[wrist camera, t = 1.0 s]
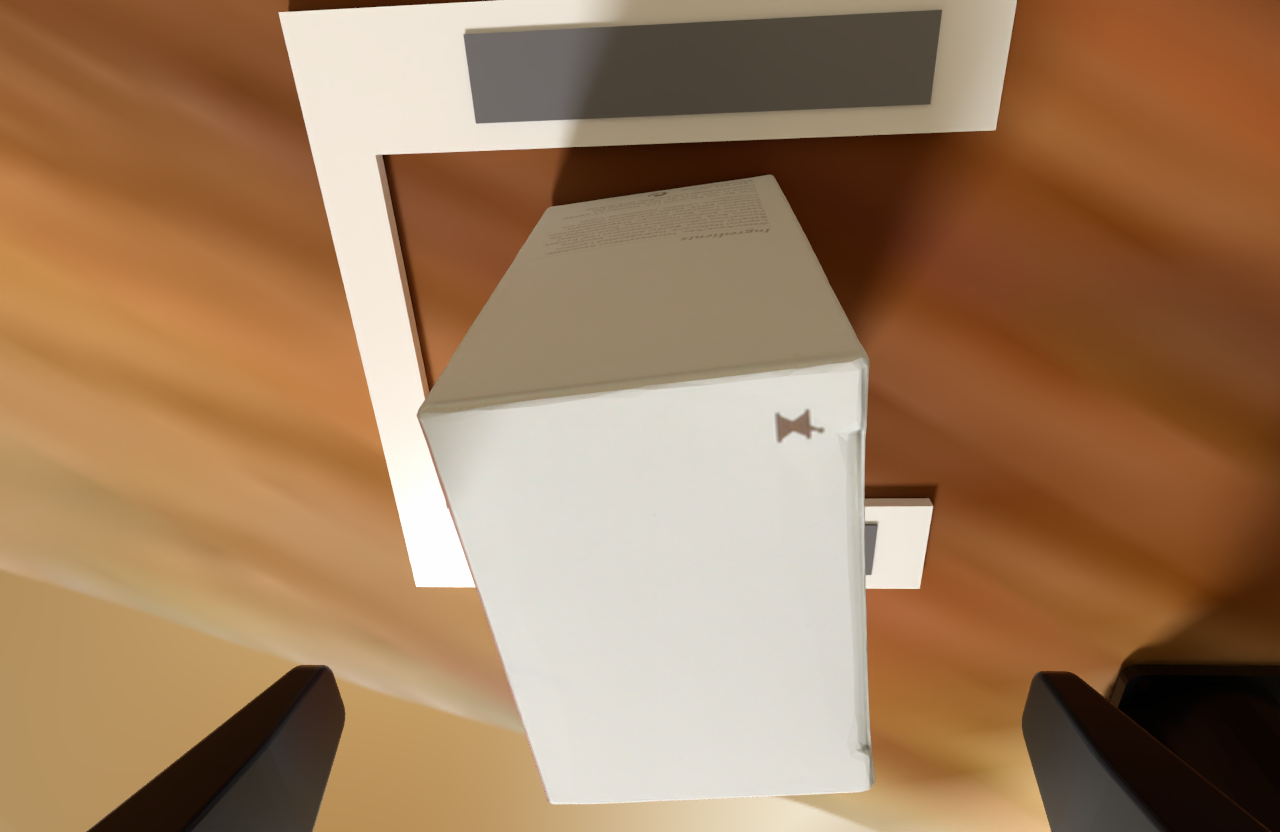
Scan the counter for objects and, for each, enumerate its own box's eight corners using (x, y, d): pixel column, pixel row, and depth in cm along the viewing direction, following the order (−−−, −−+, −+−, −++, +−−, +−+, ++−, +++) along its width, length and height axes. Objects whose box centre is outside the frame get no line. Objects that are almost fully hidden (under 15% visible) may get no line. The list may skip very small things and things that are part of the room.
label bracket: (1014, -28, 15) (1023, -29, 15) (916, 579, 23) (920, 591, 23) (286, 12, 17) (276, 12, 16) (420, 578, 24) (415, 589, 24)
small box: (545, 201, 18) (397, 398, 9) (778, 168, 18) (876, 342, 8) (602, 478, 22) (539, 818, 13) (797, 459, 21) (879, 803, 12)
